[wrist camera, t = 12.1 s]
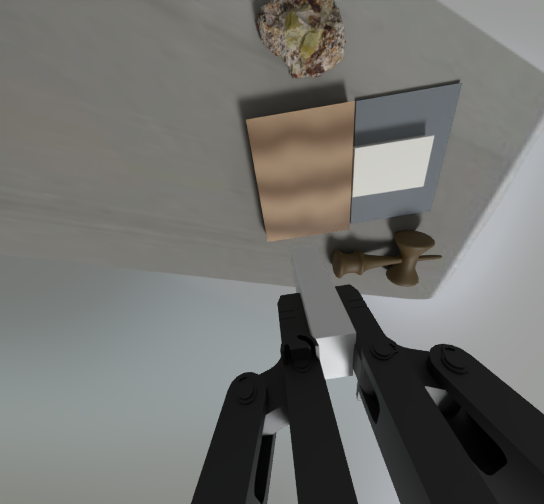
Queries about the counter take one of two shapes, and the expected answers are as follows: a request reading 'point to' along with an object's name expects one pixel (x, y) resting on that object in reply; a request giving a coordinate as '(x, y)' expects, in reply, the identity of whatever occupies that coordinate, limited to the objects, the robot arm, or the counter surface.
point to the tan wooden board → (304, 169)
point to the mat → (397, 125)
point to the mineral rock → (303, 34)
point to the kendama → (389, 259)
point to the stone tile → (390, 165)
